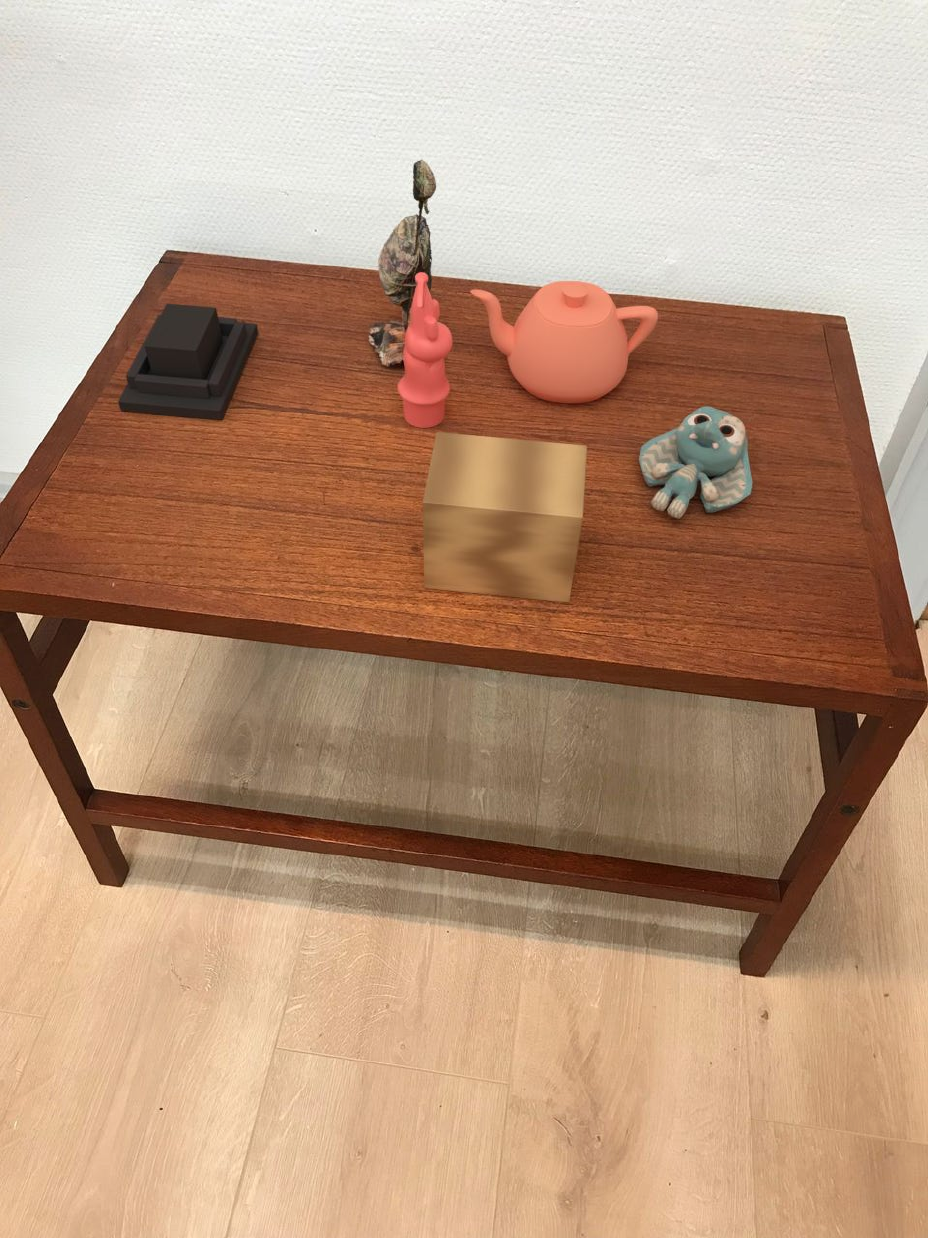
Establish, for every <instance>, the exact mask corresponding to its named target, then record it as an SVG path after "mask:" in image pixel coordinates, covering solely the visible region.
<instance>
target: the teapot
mask: <svg viewBox="0 0 928 1238" xmlns="http://www.w3.org/2000/svg"><path fill="white" fill-rule="evenodd" d="M470 294H471V295H472V296H473V297H475V298H476V299H478V300H479V301H481V302H482V303H483V305H484V307H485V309H486V311H487V316H488V325H489V326H488V327H489V332H490V337H491V341H492V342H493V344H494V346H495V348H496V349H498V350H499V352H500V353H502V354H503V355H505V356H507V362H508V366H509V369H510V372H511V374H512V375H513V377H514V378H515V379H516V381H517V382H518V383H519V384H520V385H521V387H522V388H523V389H525V391H527V392H528V393H529V394H530V395H532V396H534V397H536V398H538V399H541V400H542V401H547V402H552V403H558V404H559V403H560V404H583V403H584V404H585V403H590V402H593V401H596V400H599V399H601V398H602V397H604V396H605V395H607V394H609V393H610V392H612V391H613V390H614V389H615V388H616V387H617V386H618V385H619V384H620V383H621V381H622V380H623V378H624V377H625V375H626V373H627V369H628V363H629V356H630V354H631V353H632V352H634V351H635V350H636V349H637V347H639V346H640V345H641V344H642V343H643V342H645V340H646V339H647V338H648V337H649V336H650V334H651V333H652V332H653V330H654V329H655V327H656V326H657V323H658V319H659V313H658V311H657V309H656V308H655V307H652V306H648V305H632V306H625V307H616V305H615V303H614V301H613V299H612V297H611V296H610V295H609V294H608V292H607V290H605V289H604V288H602V287H601V286H599V285H596V284H594V283H591V282H588V281H587V282H586V281H580V280H579V281H578V280H560V281H554V282H550V283H548V284H546V285H544V286H542V287H541V288H540V289H538V290H537V292H536V293H535V294H533V296H532V297H531V299H530V300H529V301H528V302H527V304H526V305H525V307H524V308H523V309H522V311H521V313H520V314H519V315H518V318H517V319H516V321H515V323H514V326H513V325H511V324H509V323H508V322H506V321H505V320H504V317H503V315H502V307H501V303H500V301H499V299H498V298H497V297H496V295H494V294H493V293H491V292H489V291H486V290H483V289H477V288H476V289H471V290H470ZM630 319H631V320H632V319H637V320H638V319H639V320H640V323H639V325H638V327H637V329H636V331H635V332H634V333H633V335H632V336H631V337H630V339H629V340H628V336H627V332H626V327H625V326H624V323H623V320H630Z"/></svg>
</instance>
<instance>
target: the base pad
mask: <svg viewBox="0 0 928 1238" xmlns="http://www.w3.org/2000/svg"><path fill="white" fill-rule="evenodd" d="M160 315H161V314H158V315H157V316H156V318H155V320H154V322H153V323H152V325H151V327H150V329H149V331H148V333H147V335H146V337H145V339H144V340H143V343H142V345H141V346H140V348H139V349H138V352H137V354H136V356H135V358H134V360H133V361H132V363H131V365H130V367H129V369H128V371H127V373H126V375H125V379H126V381H127V383H126V385H125V387H124V389H123V391H122V393H121V395H120V397H119V399H118V401H117V403H118V406H119V409H120V411H121V412H125V413H126V412H128V413H136V414H137V413H138V414H147V415H148V414H149V415H160V416H171V417H181V418H191V419H192V418H193V419H203V420H204V419H205V420H215V421H223V420H224V418H225V416H226V413H227V410H228V407H229V405H230V402H231V401H232V398H233V395H234V393H235V390H236V389H237V386H238V383H239V381H240V378H241V376H242V374H243V371H244V369H245V366H246V364H247V361H248V360H249V357H250V354H251V352H252V350H253V348H254V345H255V343H256V339H257V337H258V335H259V329H258V324H257V323H253V322H252V323H251V322H245V321H237V318H233V317H221V316H218V319H219V324H220V329H221V334H222V339H223V343H222V345H221V348H220V350H219V352H218V354H217V357H216V359H215V361H214V363H213V366H212V368H211V370H210V372H209V375H208V377H207V379H206V380H199V379H188V378H177V377H166V376H155V375H152V371H151V368H150V364H149V361H148V357H147V353H146V350H145V344H146V342H147V340H148V338H149V337H150V335H151V333H152V331H153V329H154V327H155V325H156V323H157V321H158V319H159V317H160Z"/></svg>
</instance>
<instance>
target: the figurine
mask: <svg viewBox="0 0 928 1238" xmlns="http://www.w3.org/2000/svg"><path fill="white" fill-rule="evenodd" d="M415 281H416V283H417V286H416V289H415V293H414V297H413V301H412V306H411V321H410V324H409V326H408V328H407V331H406V335H405V347H404V352H403V359H404V360H403V359H402V360H403V364H404V375H403V376H402V378H401V379H400V380H399V381H398V383H397V392H398V394H399V396H400V397H401V398H402V405H403V406H402V407H403V419H404V421H405V422H406V423H407V424H408V425H411V426H412V427H415V428H420V429H430V428H433V427H436V426H438V425H440V424H441V423H442V422H443V420H444V419H445V415H446V414H445V413H446V412H445V411H446V409H445V406H446V405H445V403H446V402H445V401H446V399H447V397H448V396H449V394H450V391H451V385H450V382H449V380H448V378H447V377H446V362H445V357H447V356H449V354H450V352H451V350H452V347H453V343H454V342H453V341H454V340H453V335H452V332H451V330H450V329H449V328H448V326H447V325H445V324H444V323H442V322H439V321H438V319H439V317H440V311H441V310H440V303H439V301H438V300H436V299H435V298H432V295H431V291H430V292H429V289H428V286H427V284H426V283H427V282H428V275H427V274H426V273H423V272H420V273H417V274H416V276H415Z"/></svg>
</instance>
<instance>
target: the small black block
mask: <svg viewBox="0 0 928 1238" xmlns="http://www.w3.org/2000/svg"><path fill="white" fill-rule="evenodd" d="M159 315H160V317H159V319H158V321H157V323H156V325H155V327H154V329H153V331H152V333H151V335H150V337H149V338H148V340H147V342H146V344H145V350H146V353H147V357H148V361H149V364H150V368H151V371H152V375H155V376H166V377H177V378H188V379H199V380H206V379H207V377H208V375H209V372H210V370H211V368H212V366H213V363H214V361H215V359H216V357H217V354H218V352H219V350H220V348H221V345H222V343H223V339H222V334H221V329H220V324H219V319H218V317H219V315H218V311H217V307H216V306H215V307H214V306H203V305H202V306H201V305H191V304H190V305H189V304H177V303H166V304H165V306H164V308H163V310H162V312H161V314H159Z"/></svg>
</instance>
